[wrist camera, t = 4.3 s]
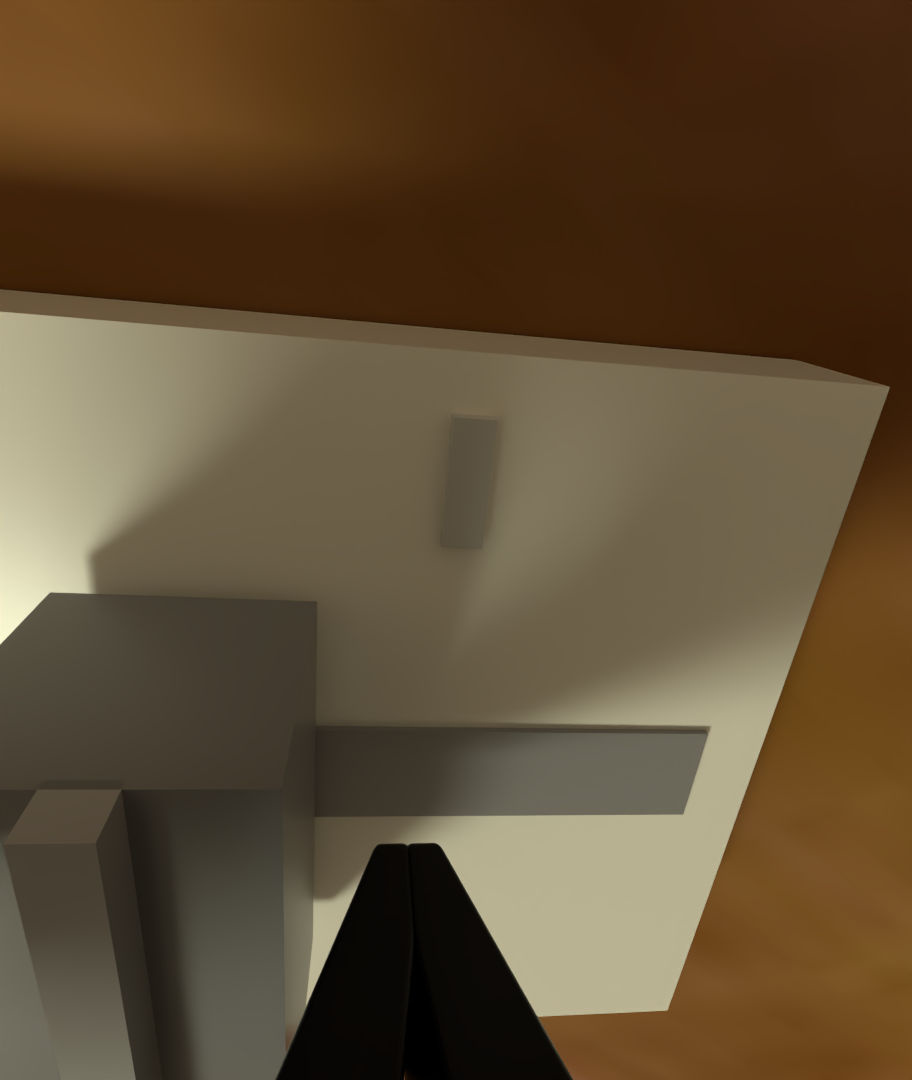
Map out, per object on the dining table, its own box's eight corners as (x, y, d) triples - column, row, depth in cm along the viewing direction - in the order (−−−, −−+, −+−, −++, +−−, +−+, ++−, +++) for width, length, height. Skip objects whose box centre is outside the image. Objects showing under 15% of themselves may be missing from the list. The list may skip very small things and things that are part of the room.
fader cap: (316, 601, 8) (272, 841, 5) (312, 936, 10) (281, 1244, 7) (49, 592, 8) (-195, 847, 4) (110, 942, 10) (-19, 1269, 7)
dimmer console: (795, 360, 10) (901, 390, 8) (632, 914, 15) (671, 1021, 13) (-1138, 188, 7) (-1754, 167, 5) (-550, 946, 12) (-741, 1089, 10)
